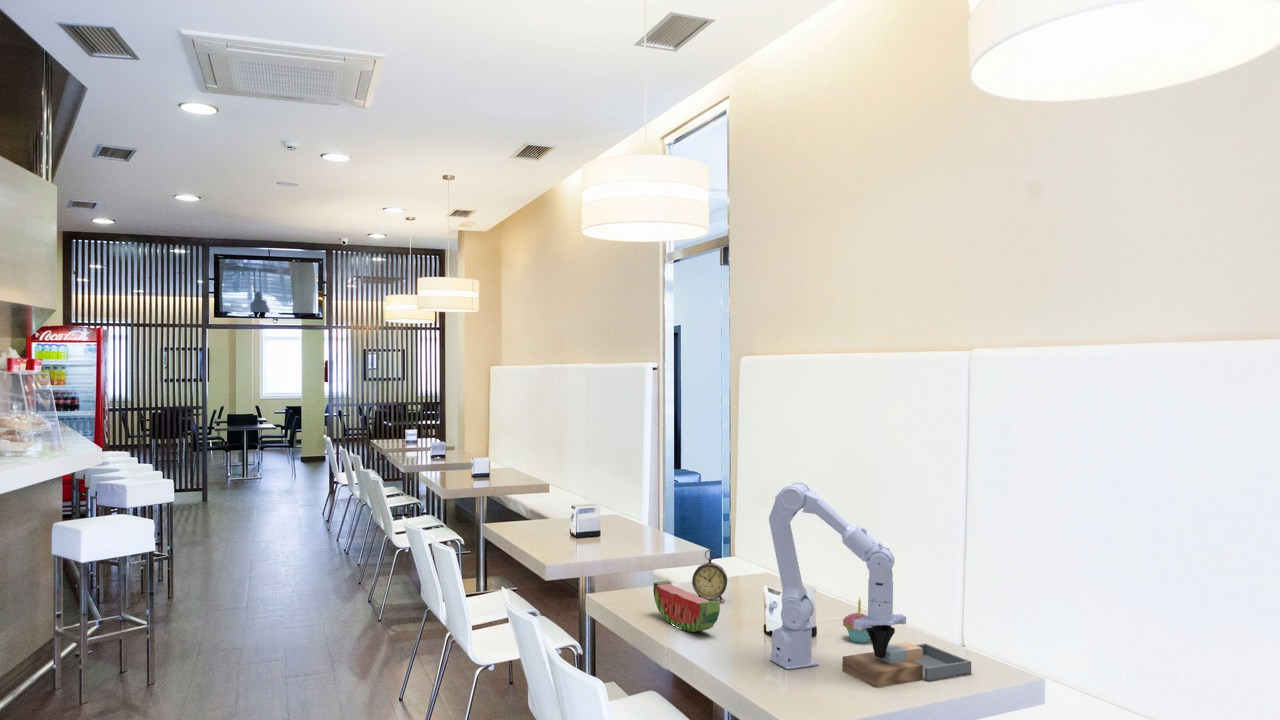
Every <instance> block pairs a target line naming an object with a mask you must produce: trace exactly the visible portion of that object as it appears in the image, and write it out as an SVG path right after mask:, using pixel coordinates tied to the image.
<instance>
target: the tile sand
mask: <svg viewBox="0 0 1280 720" xmlns="http://www.w3.org/2000/svg"><path fill="white" fill-rule="evenodd" d="M892 644H893V645H895V646H897V647H900V648H902V649H905V650H906V661H912V660H919V659H923V648H921V647H919V646H916V645H917V644H913V643H911V642H909V641H906V642H899V643H892Z"/></svg>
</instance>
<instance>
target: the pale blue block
mask: <svg viewBox="0 0 1280 720" xmlns="http://www.w3.org/2000/svg"><path fill="white" fill-rule="evenodd" d="M893 644H894V643H891V644H890V643H889V644H888V647H887V650H886V653H885V657H884V658H878V657H876V658H878V659H881V660H883V661H885V662H887V663H889V664H892V663H899V662H905V661H906V650H905V649H902V648H900V647H897V646H895V645H893Z"/></svg>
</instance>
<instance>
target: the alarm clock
mask: <svg viewBox="0 0 1280 720" xmlns="http://www.w3.org/2000/svg"><path fill="white" fill-rule="evenodd" d="M709 551H710V552H712V553H713V554H714V556H713V558H711V557H709V558H708V557H707V553H708V552H709ZM704 557H705V558H706V560H708V562H704V563H702V564H700V565H699V566H698V567H697V568H696V569H695V571H694V573H693V575H692V579H691V583H692V584H691V585H692V588H693V590H694V591H695V594H696V595H697V596H698V597H700V598H703V599H706V600H709V601H712V600H715V599H718V598H719V599H720V601H722V600H724V599H723V597H722V595H723V594H724V593H725V591H726V590H727V586H728V585H727V584H728V575H727V573H726V571H725V570H724V568H723V567H722V566H720V565H718V564H717V563H715V562H712V560H714V559H715V557H716V551H714V550H713V549H707V550H706V551H705V553H704Z"/></svg>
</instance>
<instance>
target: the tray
mask: <svg viewBox="0 0 1280 720" xmlns="http://www.w3.org/2000/svg"><path fill="white" fill-rule="evenodd" d="M915 645H916V646H919V647H921V648H923V659H919V660H912V661H914V662H917V663H919V664H921V665H923V680H922V681H925V682H927V681H929V682H933V681H932V680H935V681H939V679H940V680H944V679H943V678H946V679H950V678H949V677H952V678H955V677H954V676H958V677H960V676H959V675H964V676H967V675H966V674H969V675H972V661H970V660H968V659H966V658H964V657H960V656H958V655H956V654H953V653H950V652H948V651H946V650H943V649H941V648H938V647H936V646H934V645H930V644H928V643H919V644H915Z"/></svg>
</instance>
